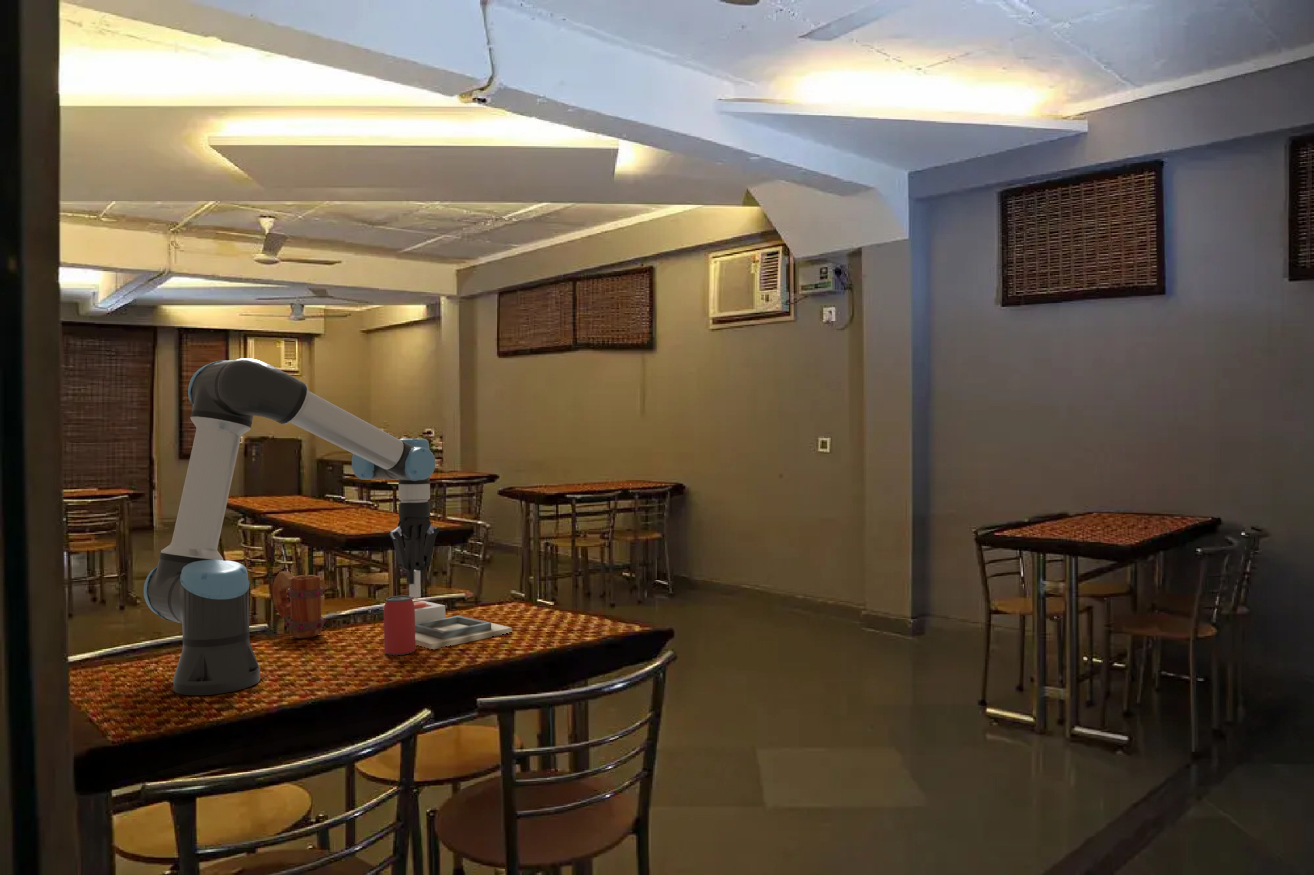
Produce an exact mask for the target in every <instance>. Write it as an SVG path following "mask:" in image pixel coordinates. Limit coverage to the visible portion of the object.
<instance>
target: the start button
mask: <svg viewBox="0 0 1314 875" xmlns="http://www.w3.org/2000/svg"><path fill="white" fill-rule="evenodd" d="M413 602H414V606H415V609H418V608H424V607H426V603H424V602H419V601H413Z"/></svg>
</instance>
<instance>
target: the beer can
mask: <svg viewBox="0 0 1314 875" xmlns="http://www.w3.org/2000/svg"><path fill="white" fill-rule="evenodd" d="M413 602H414V601H413V597H411V596H409V595H395V596H394V595H393V596H388V597H386V598H385V603H384V606H383V637H384V638H383V641H384V642H383V643H384V644H383V645H384V646H383V647H384V653H385V654H386V655H388V656H392V655H393V656H394V657H397V656H398V655H400V656H406V655H405V654H407V655H410V654H412V653H414V652H415V650H416V645H415V606H414V603H413ZM409 653H410V654H409ZM398 657H399V656H398Z"/></svg>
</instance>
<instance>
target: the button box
mask: <svg viewBox="0 0 1314 875" xmlns="http://www.w3.org/2000/svg"><path fill="white" fill-rule="evenodd" d="M414 602H415V601H413V603H414ZM418 602H424V603H426V607H424V608H418V609H415V624H416V623H421V622H427V621H432V620H438V619H443V618H446V605H444V604H439V603H435V602H432V601H431V602H430V601H425V600H419V601H418Z"/></svg>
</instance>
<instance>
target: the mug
mask: <svg viewBox="0 0 1314 875" xmlns="http://www.w3.org/2000/svg"><path fill="white" fill-rule="evenodd" d="M288 589H289V590H288ZM324 593H326V589H325V588H323V587H322V586H321V576H320V575H315V574H308V575H306V576H305V575H296V576H293V574H292V573H291V572H290V571H287V570H286V571H281V572H279V573H277V575H276V577H275V579H274V580H273V584H272V600H273V604H274V607H275V609H276V611H277V613H278V615H279V616H280V617H281V618H282V619H286V618H288V619H287V621H285V623H284V624H285V627H286V628H288V629H289V634H290V636H291V637H293V638H295V639H299V640H300V639H303V640H304V639H311V638H314V637H317V636H318V635H320V634H321V633H322V630H323V629H322V628H323V627H324V624H326V623H327V619H326V618H324V617H323V616H322V596H323V594H324ZM288 597H289V598H290V601H289V599H288Z"/></svg>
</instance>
